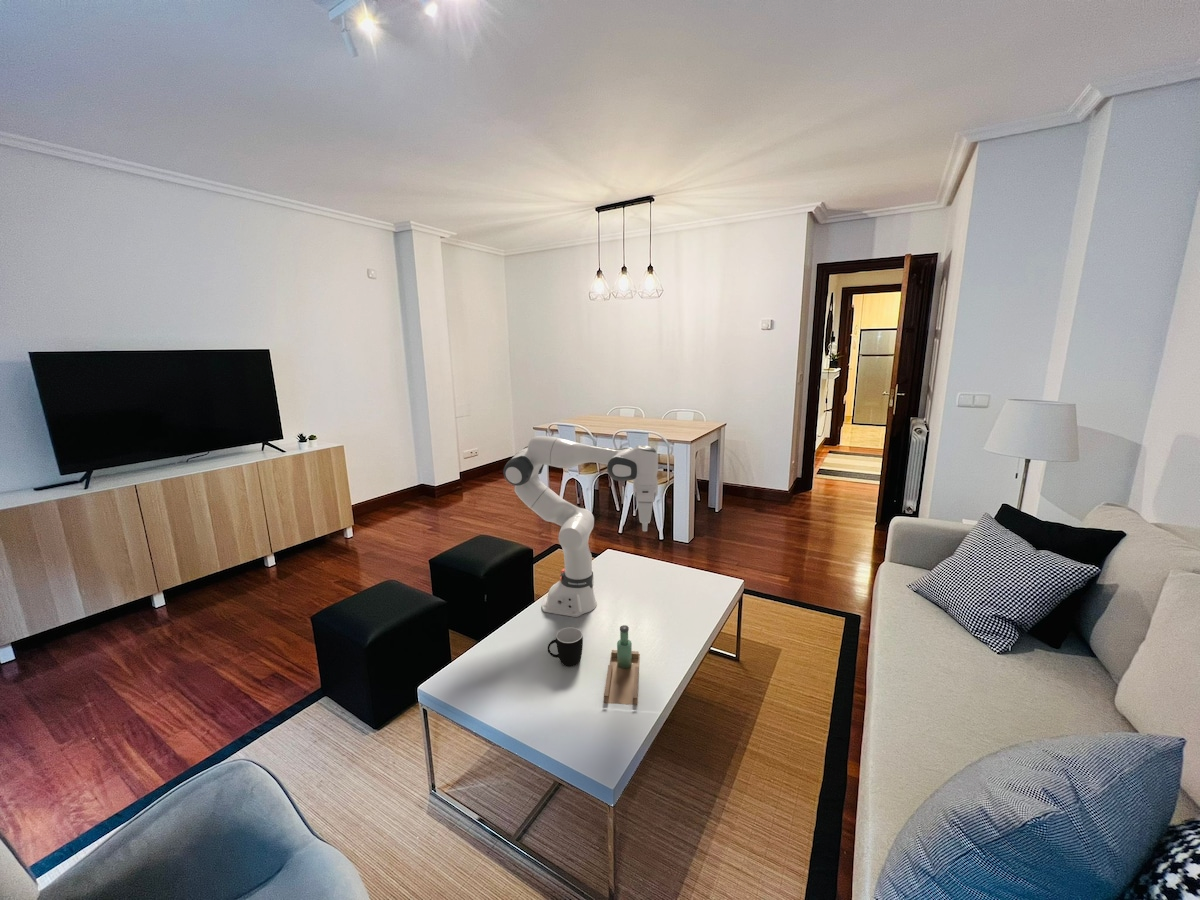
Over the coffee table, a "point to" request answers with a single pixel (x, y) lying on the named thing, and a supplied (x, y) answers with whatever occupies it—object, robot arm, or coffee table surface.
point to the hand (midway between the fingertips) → (644, 525)
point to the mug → (568, 646)
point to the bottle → (624, 649)
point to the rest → (622, 681)
